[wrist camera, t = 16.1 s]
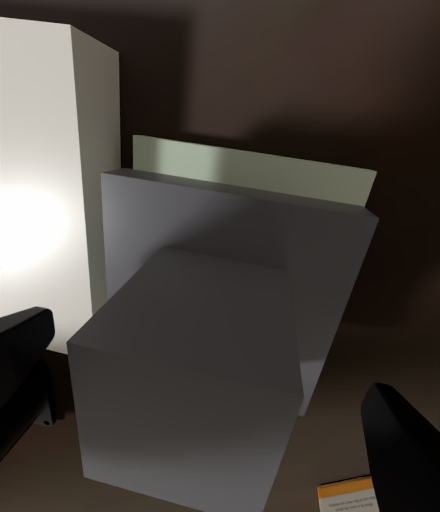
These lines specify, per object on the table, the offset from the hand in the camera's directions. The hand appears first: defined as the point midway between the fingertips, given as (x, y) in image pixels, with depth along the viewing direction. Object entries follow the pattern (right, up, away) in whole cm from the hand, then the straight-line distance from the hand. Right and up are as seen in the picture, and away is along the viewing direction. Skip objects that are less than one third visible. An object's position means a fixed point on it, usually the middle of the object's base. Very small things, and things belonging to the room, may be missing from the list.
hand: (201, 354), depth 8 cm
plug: (+1, +2, +6) cm, 6 cm away
